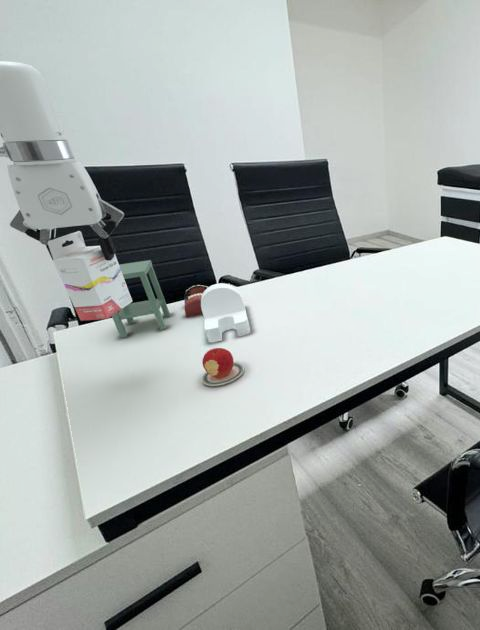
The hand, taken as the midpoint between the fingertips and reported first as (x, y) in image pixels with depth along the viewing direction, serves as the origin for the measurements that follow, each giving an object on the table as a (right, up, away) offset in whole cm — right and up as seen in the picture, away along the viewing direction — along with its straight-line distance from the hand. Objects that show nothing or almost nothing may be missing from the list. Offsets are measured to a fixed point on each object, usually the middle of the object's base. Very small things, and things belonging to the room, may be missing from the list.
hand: (87, 260), depth 69 cm
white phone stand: (+9, -12, +32) cm, 36 cm away
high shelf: (-13, -13, +33) cm, 38 cm away
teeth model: (-3, -8, +42) cm, 43 cm away
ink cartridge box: (0, -9, +5) cm, 10 cm away
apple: (+19, -23, +10) cm, 31 cm away
